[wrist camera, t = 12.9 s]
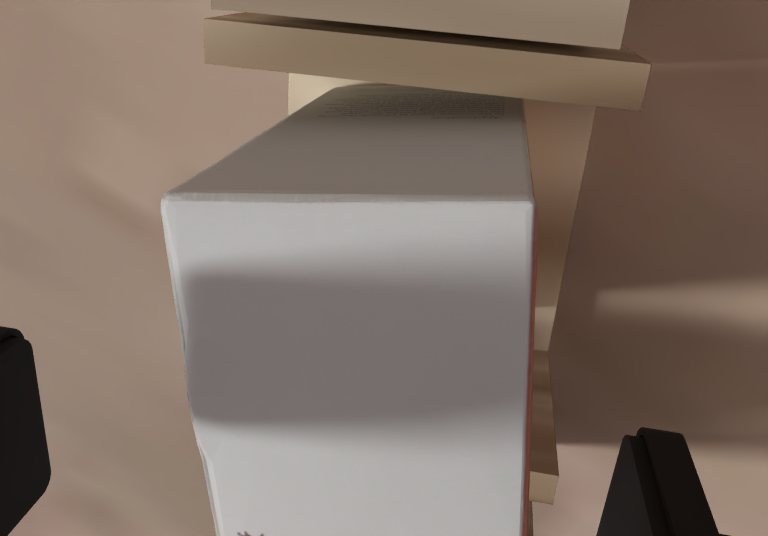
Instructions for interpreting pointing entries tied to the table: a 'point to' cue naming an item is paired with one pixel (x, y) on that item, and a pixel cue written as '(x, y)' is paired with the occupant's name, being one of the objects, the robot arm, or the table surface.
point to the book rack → (474, 75)
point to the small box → (363, 317)
